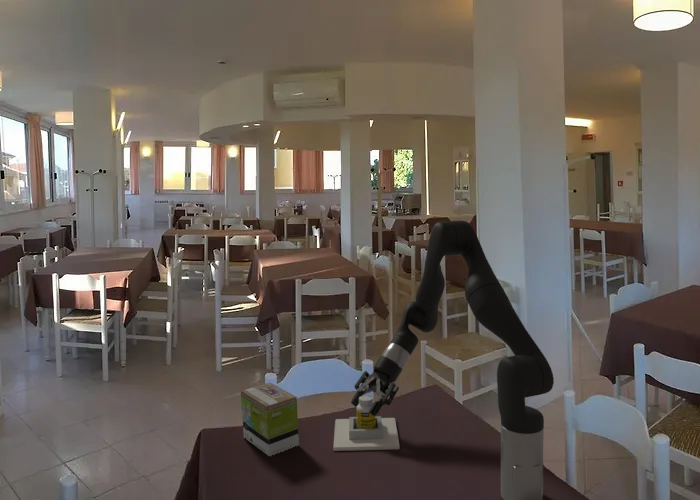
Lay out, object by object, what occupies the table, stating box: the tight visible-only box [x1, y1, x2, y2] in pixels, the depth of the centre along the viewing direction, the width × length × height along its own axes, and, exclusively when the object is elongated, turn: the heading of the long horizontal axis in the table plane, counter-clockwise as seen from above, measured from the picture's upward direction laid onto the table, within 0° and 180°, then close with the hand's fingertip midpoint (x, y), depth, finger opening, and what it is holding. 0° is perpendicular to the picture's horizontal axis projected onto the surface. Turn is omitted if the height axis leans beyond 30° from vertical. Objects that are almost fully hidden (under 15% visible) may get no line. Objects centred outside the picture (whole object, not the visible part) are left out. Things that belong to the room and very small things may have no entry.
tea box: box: [240, 382, 300, 457], centre depth 158 cm, size 15×10×15 cm, turn 39°
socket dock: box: [333, 415, 401, 452], centre depth 161 cm, size 18×18×4 cm
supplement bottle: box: [356, 395, 376, 429], centre depth 161 cm, size 5×5×10 cm
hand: (362, 409), depth 160 cm, fingers open, 8 cm apart
